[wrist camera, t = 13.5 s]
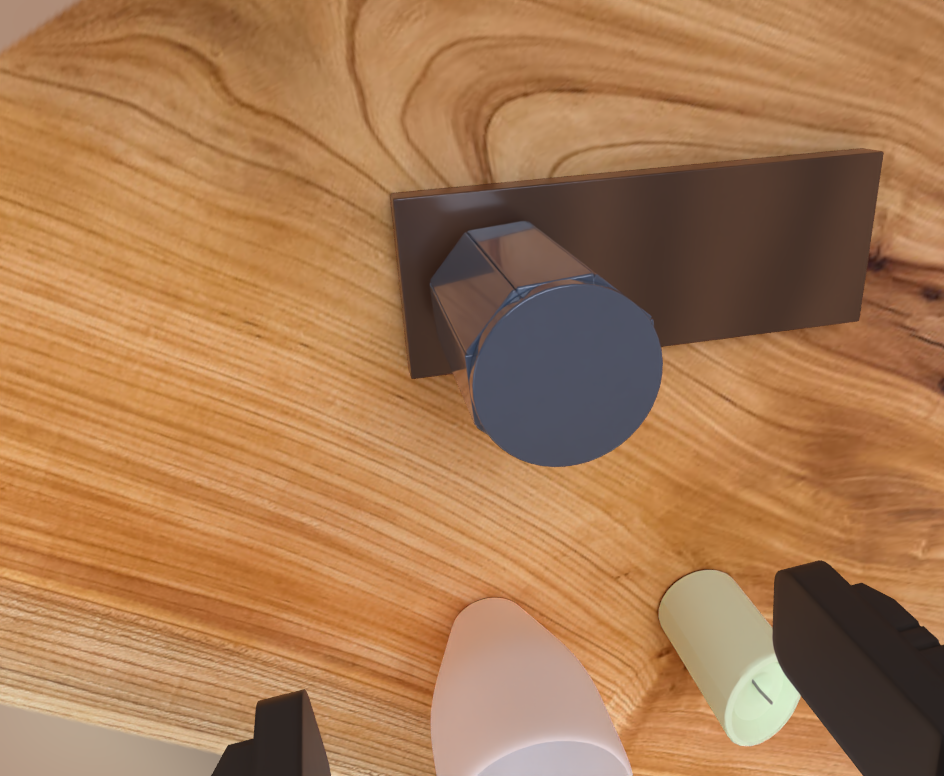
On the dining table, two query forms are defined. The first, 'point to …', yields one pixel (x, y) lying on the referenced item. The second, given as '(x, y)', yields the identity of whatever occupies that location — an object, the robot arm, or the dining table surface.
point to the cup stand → (671, 242)
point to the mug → (518, 702)
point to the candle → (729, 655)
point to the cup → (543, 346)
